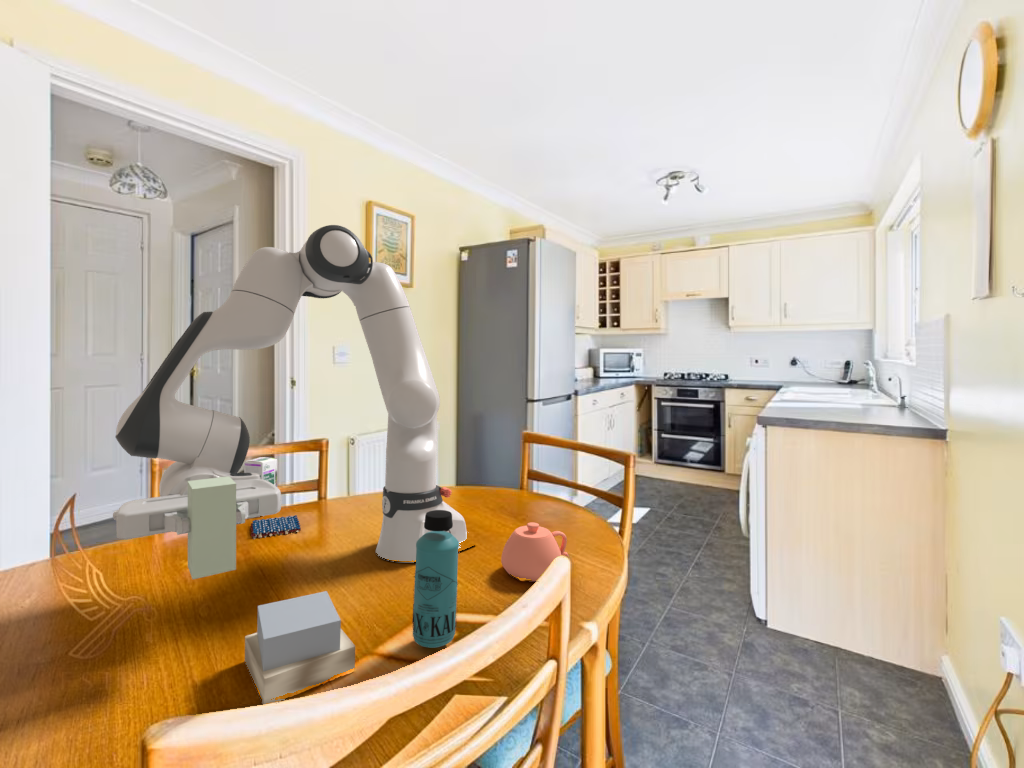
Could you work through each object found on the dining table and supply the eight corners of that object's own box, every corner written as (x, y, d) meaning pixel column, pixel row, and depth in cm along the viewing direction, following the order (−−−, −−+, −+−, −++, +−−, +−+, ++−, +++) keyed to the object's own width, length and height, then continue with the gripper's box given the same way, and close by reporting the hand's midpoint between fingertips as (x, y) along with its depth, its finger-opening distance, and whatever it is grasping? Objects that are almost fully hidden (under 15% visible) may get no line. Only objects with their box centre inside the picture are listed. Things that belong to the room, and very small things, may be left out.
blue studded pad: (249, 527, 116) (250, 519, 116) (297, 521, 122) (297, 514, 122) (250, 541, 107) (250, 533, 107) (301, 535, 113) (301, 526, 113)
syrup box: (262, 517, 122) (263, 462, 122) (242, 515, 124) (243, 460, 123) (277, 510, 128) (278, 457, 127) (258, 508, 129) (259, 456, 129)
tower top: (326, 617, 70) (326, 590, 70) (340, 649, 62) (340, 620, 62) (257, 634, 65) (257, 605, 65) (263, 671, 57) (263, 639, 57)
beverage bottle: (414, 633, 73) (417, 505, 72) (457, 632, 73) (461, 505, 72) (408, 659, 66) (412, 519, 65) (455, 658, 67) (460, 519, 66)
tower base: (326, 636, 72) (326, 611, 71) (354, 675, 63) (355, 646, 63) (244, 664, 65) (245, 636, 64) (264, 711, 56) (264, 679, 56)
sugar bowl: (495, 562, 100) (497, 515, 99) (558, 559, 103) (560, 512, 102) (508, 590, 88) (510, 536, 87) (578, 585, 91) (581, 532, 91)
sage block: (229, 557, 69) (229, 476, 68) (236, 569, 65) (236, 483, 65) (187, 566, 66) (187, 481, 65) (192, 579, 62) (192, 489, 61)
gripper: (112, 489, 68) (113, 514, 57) (267, 471, 81) (291, 489, 71) (112, 532, 68) (113, 565, 58) (267, 507, 82) (291, 530, 71)
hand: (212, 523), depth 64 cm, fingers closed on sage block, 5 cm apart
